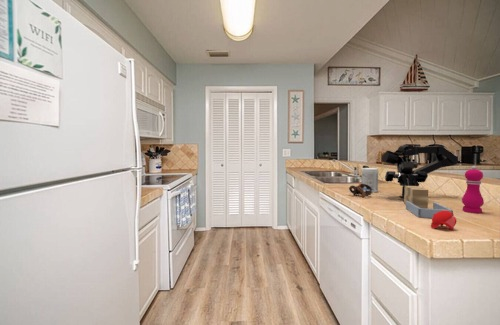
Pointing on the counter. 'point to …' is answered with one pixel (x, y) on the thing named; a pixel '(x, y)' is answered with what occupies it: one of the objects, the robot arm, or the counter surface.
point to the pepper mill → (473, 191)
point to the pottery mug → (361, 190)
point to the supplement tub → (370, 178)
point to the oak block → (416, 196)
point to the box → (426, 210)
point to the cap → (443, 219)
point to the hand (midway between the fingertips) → (409, 189)
